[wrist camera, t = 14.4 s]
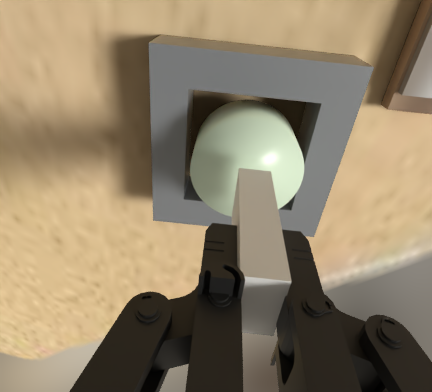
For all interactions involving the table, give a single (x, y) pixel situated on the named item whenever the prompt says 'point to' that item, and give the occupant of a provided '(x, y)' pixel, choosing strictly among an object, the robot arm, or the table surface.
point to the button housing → (252, 86)
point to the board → (414, 68)
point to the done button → (245, 153)
